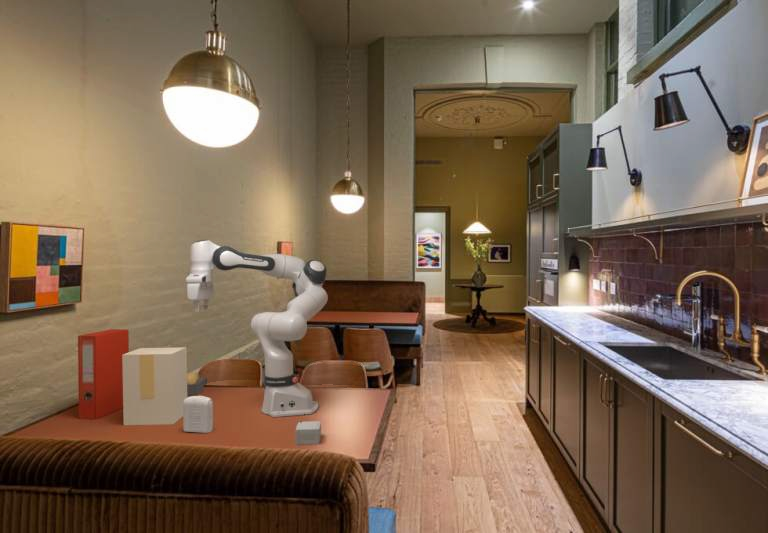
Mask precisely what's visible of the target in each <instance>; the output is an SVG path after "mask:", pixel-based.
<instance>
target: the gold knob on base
mask: <svg viewBox="0 0 768 533" xmlns="http://www.w3.org/2000/svg"><path fill="white" fill-rule="evenodd" d="M207 384H208V377H207V376H206V377H200V374H199V372H196V371H195V372H187V395H198V394H199V393H200V394H201V393H203V391H204V387H205V386H206V385H207ZM200 394H199V395H200ZM199 395H198V396H199Z"/></svg>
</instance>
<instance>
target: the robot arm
mask: <svg viewBox="0 0 768 533" xmlns="http://www.w3.org/2000/svg"><path fill="white" fill-rule="evenodd" d="M189 249H190V250H189V263H190V269H189V275H188V276H187V277H186V278H185V283H186V284H187V285H186V293H187V300H188V301H189V302H192V306H193V308H194V312H196V313H198V312H200V311H201V307H200V301H203V302H204V303H203V306H202V307H203V310H209V308H210V307H209V306H210V300H211V299H213V298H214V297H215V290H214V283H213V269H217V270H220V271H231V270H234V269H237V268H238V269H249V270H257V271H259V272H262V273H263V274H264V275H266V276H269V277H272V278H275V279H276V278H277V279H286V280H291V281H292V284H291V285H292V289H293V292H294V295H295V297H294V298H293V299H291V300H290V301H289V302H287V306H286V311H285V310H284V311H281V312H276V311H273V312H272V311H264V312H259V313H257V314H255V315H254V316H253V317H252V318H251V323H250V329H251V332H252V334H253V335H254V336H255V337H256V338H257V340H258V342H259V343H260V347H261V349H262V352H263V358H264V375H263V389H264V394H263V395H264V396H263V397H264V398H263V403H262V407H261V410H260V411H261V412H262V413H263V414H265V415H269V416H270V417H274V418H278V417H279V418H280V417H291V416H293V417H294V416H302V415H303V416H304V414H305V415H312V414H314V413H315V411H316V412H317V411H318V410H319V407H318V406H319V403H318V402H317V401H315V400H314V399H313V394H312V392H311V390H310V389H308V388H307V387H305V386H304V385H303V384H302V383H300V382H299V374H296V373H295V372H294V355H293V352H292V351H291V350H290V349H288V347H287V345H286V343H285V342H294V341H299V340H302V339H304V337H305V336H306V334H307V330H308V324H307V322H308V321H310V320H311V319H312V318H314V316H315V315H317V314H318V313H319V312H320V311H322V310H323V308H324V307H325V305H326V304H327V303H328V300H329V296H328V293H327V291H326V290H325V289H324V288H323V285H324V283H325V282H326V277H327V266H326V264H324V263H323V262H322V261H320V260H318V259H317V260H316V259H310V260H308V261H307V262H305V260H303V259H302V258H300V257H298V256H294V255H289V254H283V253H266V254H262V255H261V254H258V255H257V254H251V253H245V252H244V253H243V252H240V251H238V250H237V249H235V248H233V247H230V246H227V245H224V246H220V245H218V244H216V243H214V242H213V241H211V240H209V239H201V240H196V241H194V242H193V243H192V244H191V245H190V248H189ZM317 409H318V410H317Z"/></svg>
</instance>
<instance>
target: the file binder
mask: <svg viewBox="0 0 768 533" xmlns="http://www.w3.org/2000/svg"><path fill="white" fill-rule="evenodd" d="M129 332H130V331H129V329H127V328H126V329H124V328H122V329H120V328H118V329H117V328H115V329H114V328H110V329H106V330H102V331H97V332H96V331H95V332H90V333H85V334H81V335H78V336H77V361H78V362H77V366H78V368H77V371H78V372H77V374H78V376H77V378H78V379H77V382H78V418H79V419H80V418H82V420H93V419H95V421H96V419H97V420H99V419H101V418H103V416H104V417H105V416H106V417H107V416H108V415H111V414H113V413H115V412H117V411H120V410H122V409H123V364H122V355H123V354H126V353H128V352H130V347H129V346H130V344H129V343H130V342H129V340H130V339H129V338H130V336H129ZM98 418H99V419H98Z"/></svg>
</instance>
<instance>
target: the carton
mask: <svg viewBox="0 0 768 533" xmlns="http://www.w3.org/2000/svg"><path fill="white" fill-rule="evenodd" d="M187 358H188V354H187V347H186V346H183V347H182V346H181V347H178V346H177V347H140V348H137V349H134V350H131V351H129V352H128V353H126V354H123V355H122V364H123V408H122V409H123V411H122V412H123V413H122V414H123V426H153V425H155V426H156V425H157V426H158V425H159V426H161V425H162V426H163V425H164V426H165V425H166V426H167V425H174V424H175V423H177V422H178V421H179V420H180V419H182V418H183V403H184V400H185V398H188V396H187V373H188V367H187V366H188V364H187V362H188V361H187ZM181 417H182V418H181Z"/></svg>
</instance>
